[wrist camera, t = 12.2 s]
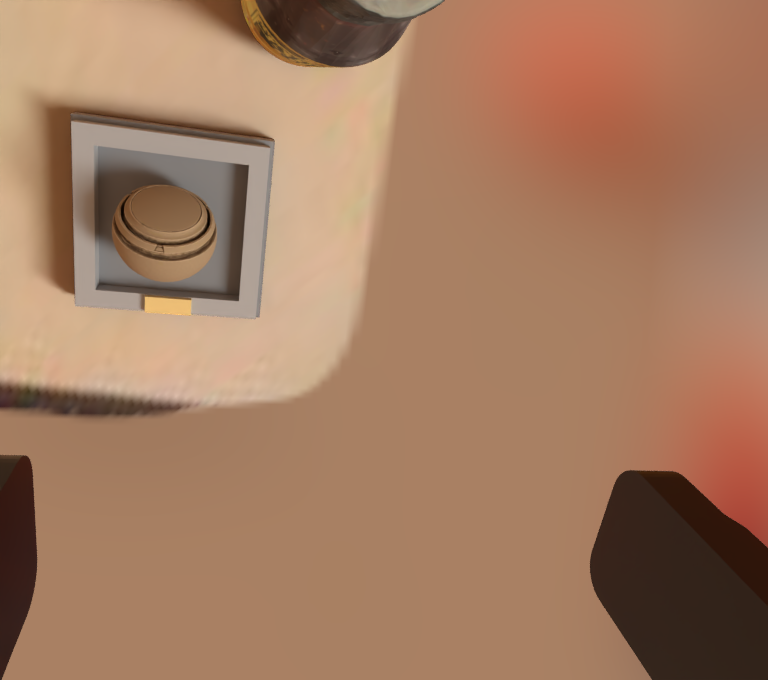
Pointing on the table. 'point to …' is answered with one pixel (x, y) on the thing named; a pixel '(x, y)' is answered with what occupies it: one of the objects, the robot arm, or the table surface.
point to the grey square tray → (181, 169)
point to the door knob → (164, 232)
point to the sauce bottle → (331, 28)
